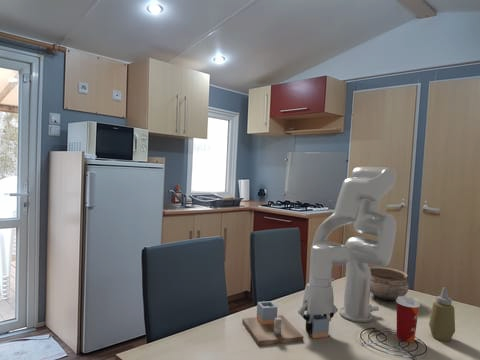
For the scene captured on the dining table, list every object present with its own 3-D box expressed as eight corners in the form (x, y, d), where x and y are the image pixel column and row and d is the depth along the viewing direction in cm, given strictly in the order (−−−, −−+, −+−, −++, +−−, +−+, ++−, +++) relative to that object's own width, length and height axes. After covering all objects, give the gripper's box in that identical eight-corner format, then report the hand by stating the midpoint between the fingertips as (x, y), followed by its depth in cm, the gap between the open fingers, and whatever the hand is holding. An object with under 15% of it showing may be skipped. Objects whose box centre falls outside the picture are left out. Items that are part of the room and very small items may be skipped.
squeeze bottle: (454, 345, 118) (458, 293, 117) (427, 338, 122) (431, 288, 121) (454, 336, 125) (458, 287, 124) (429, 330, 129) (432, 282, 128)
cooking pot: (351, 289, 170) (352, 265, 169) (382, 287, 175) (384, 264, 175) (387, 310, 146) (389, 281, 145) (422, 307, 152) (424, 279, 151)
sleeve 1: (270, 316, 129) (271, 301, 129) (276, 323, 124) (277, 307, 124) (256, 318, 127) (257, 302, 127) (261, 324, 122) (262, 308, 122)
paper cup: (420, 345, 116) (423, 304, 116) (396, 342, 118) (399, 301, 117) (413, 335, 124) (416, 296, 124) (391, 331, 126) (393, 294, 125)
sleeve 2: (319, 329, 124) (320, 312, 124) (328, 336, 119) (329, 319, 119) (305, 330, 123) (306, 314, 122) (313, 338, 117) (314, 320, 117)
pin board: (282, 318, 131) (283, 302, 131) (303, 340, 115) (304, 321, 115) (242, 322, 127) (243, 304, 126) (258, 345, 110) (259, 325, 110)
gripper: (335, 276, 126) (332, 325, 127) (292, 278, 121) (290, 329, 122) (347, 283, 119) (344, 334, 120) (302, 286, 114) (299, 339, 115)
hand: (317, 331), depth 121 cm, fingers closed on sleeve 2, 5 cm apart
